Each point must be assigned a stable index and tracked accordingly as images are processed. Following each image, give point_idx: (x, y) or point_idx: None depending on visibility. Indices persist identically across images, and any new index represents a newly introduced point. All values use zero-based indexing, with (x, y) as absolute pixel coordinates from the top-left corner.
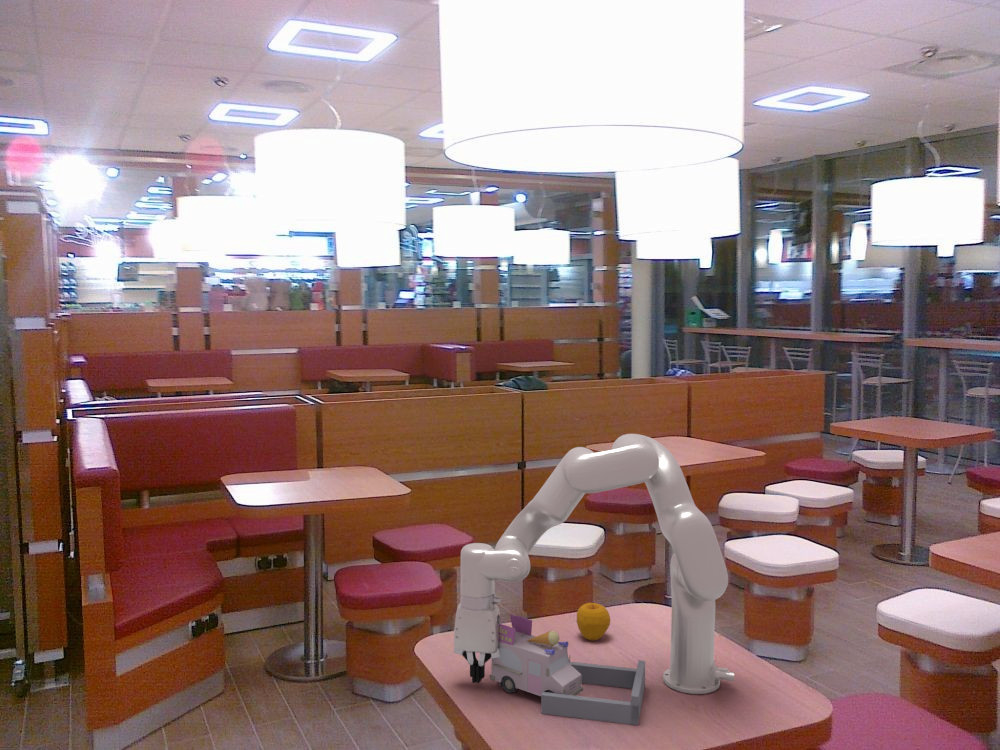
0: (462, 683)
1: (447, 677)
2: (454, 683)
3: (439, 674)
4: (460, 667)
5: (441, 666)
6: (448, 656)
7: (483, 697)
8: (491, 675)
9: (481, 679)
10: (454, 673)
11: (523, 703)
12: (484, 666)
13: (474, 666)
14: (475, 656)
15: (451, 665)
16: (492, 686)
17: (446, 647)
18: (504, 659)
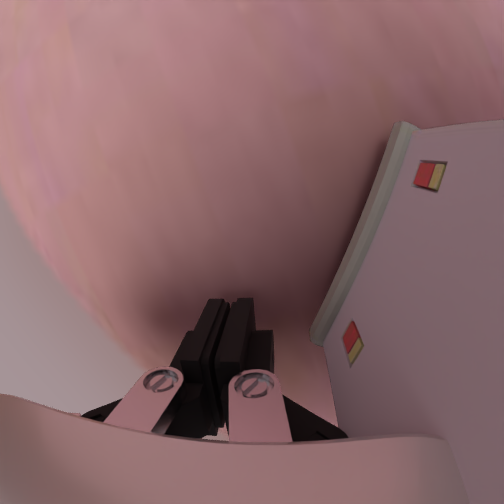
0: (160, 304)
1: (78, 263)
2: (129, 312)
3: (44, 246)
4: (80, 136)
5: (21, 168)
6: (20, 69)
7: (303, 394)
8: (323, 345)
9: (254, 316)
10: (82, 212)
11: None
12: (270, 368)
13: (217, 427)
14: (179, 411)
15: (45, 137)
16: (317, 294)
17: (10, 17)
18: None
